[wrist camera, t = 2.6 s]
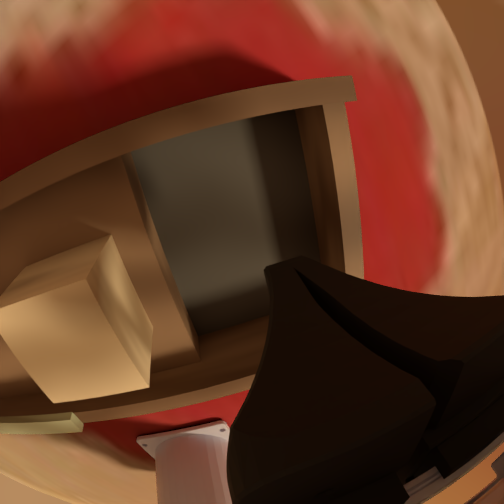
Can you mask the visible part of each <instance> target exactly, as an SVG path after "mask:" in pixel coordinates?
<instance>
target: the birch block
mask: <svg viewBox="0 0 504 504" xmlns="http://www.w3.org/2000/svg"><path fill="white" fill-rule="evenodd" d="M0 334H1V336H2V337H3V339H4V340H5V342H6V343H7V345H8V346H9V348H10V349H11V351H12V352H13V354H14V355H15V356H16V358H17V359H18V360H19V362H20V363H21V364H22V366H23V367H24V368H25V370H26V371H27V372H28V374H29V375H30V376H31V377H32V379H33V380H34V381H35V382H36V384H37V385H38V386H39V387H40V388H41V390H42V391H43V392H44V393H45V394H46V395H47V397H48V398H49V399H50V400H51V401H52V402H53V403H60V402H68V401H76V400H83V399H89V398H96V397H102V396H108V395H113V394H119V393H124V392H129V391H135V390H139V389H144V388H149V382H150V363H151V348H152V335H153V326H152V324H151V322H150V320H149V318H148V316H147V314H146V312H145V310H144V308H143V305H142V303H141V301H140V299H139V297H138V295H137V293H136V291H135V288H134V286H133V284H132V282H131V280H130V277H129V275H128V273H127V271H126V268H125V266H124V264H123V261H122V259H121V257H120V254H119V252H118V249H117V247H116V245H115V242H114V240H113V237H112V235H108V236H105V237H102V238H99V239H97V240H94V241H91V242H88V243H86V244H83V245H80V246H78V247H75V248H72V249H70V250H67V251H64V252H62V253H59V254H56V255H54V256H51V257H49V258H46V259H44V260H41V261H39V262H36V263H34V264H31V265H29V266H26V267H25V268H24V269H23V270H22V271H21V272H20V274H19V275H18V276H17V277H16V278H15V279H14V280H13V282H12V283H11V284H10V285H9V286H8V288H7V289H6V290H5V291H4V292H3V294H2V295H1V296H0Z"/></svg>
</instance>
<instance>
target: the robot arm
mask: <svg viewBox="0 0 504 504" xmlns="http://www.w3.org/2000/svg"><path fill="white" fill-rule="evenodd" d="M263 271H264V275H265V279H266V283H267V288H268V292H269V296H270V311H269V323H268V330H267V336H266V341H265V345H264V349H263V353H262V357H261V360H260V364H259V367H258V370H257V372H256V375H255V377H254V380H253V383H252V385H251V388H250V390H249V393H248V395H247V397H246V399H245V401H244V403H243V405H242V407H241V409H240V411H239V412H238V414H237V416H236V418H235V420H234V422H233V424H232V425H231V427H230V428H229V427H228V425H227V423H226V422H225V421H221V420H220V421H215V422H211V423H207V424H203V425H198V426H194V427H189V428H184V429H179V430H174V431H169V432H163V433H157V434H151V435H145V436H139V437H137V440H136V442H137V443H138V444H139V445H140V446H141V447H142V448H143V449H144V450H145V451H146V452H147V453H148V454H149V455H150V456H152V457H153V458H154V459H155V465H156V484H157V498H158V504H423V503H424V502H425V501H427V500H429V499H431V498H432V497H434V496H435V495H437V494H438V493H440V492H441V491H443V490H444V489H446V488H447V487H449V486H450V485H452V484H453V483H454V482H456V481H457V480H458V479H460V478H461V477H463V476H464V475H465V474H467V473H468V472H469V471H470V470H472V469H473V468H474V467H476V466H477V465H478V464H479V463H480V462H482V461H483V460H484V459H485V458H486V457H488V456H489V455H490V454H491V453H492V452H493V451H495V450H496V449H497V448H498V447H499V446H500V445H501V444H502V443H503V442H504V295H503V296H485V297H455V296H440V295H431V294H424V293H417V292H411V291H405V290H400V289H396V288H392V287H388V286H383V285H380V284H376V283H373V282H370V281H367V280H364V279H361V278H358V277H355V276H352V275H349V274H347V273H344V272H341V271H339V270H336V269H334V268H332V267H329V266H327V265H324V264H322V263H320V262H317V261H315V260H313V259H310V258H308V257H305V256H302V255H301V256H298V257H294V258H291V259H288V260H285V261H282V262H278V263H275V264H272V265H269V266H266V267H265V269H264V270H263ZM491 467H492V468H493V470H494V471H495V473H496V474H497V477H496V478H495V479H494V480H493V481H492V482H491V483H489V484H488V485H487V486H486V487H485V488H483V489H482V490H481V491H480V492H479V493H477V494H476V495H475V496H473V497H472V498H471V499H470V500H468V501H467V502H466V503H464V504H504V452H503V453H502V454H501V455H500V457H498V458H497V459H496V460H495V461H494V462H493V463H492V465H491Z"/></svg>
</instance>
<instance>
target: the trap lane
mask: <svg viewBox="0 0 504 504" xmlns="http://www.w3.org/2000/svg"><path fill="white" fill-rule="evenodd" d="M348 101H357V98H356V93H355V88H354V83H353V78H352V76H337V77H326V78H316V79H307V80H299V81H291V82H284V83H278V84H272V85H266V86H260V87H254V88H249V89H244V90H239V91H234V92H230V93H225V94H221V95H216V96H212V97H208V98H204V99H200V100H196V101H193V102H189V103H185V104H182V105H178V106H175V107H171V108H168V109H165V110H161V111H158V112H155V113H152V114H149V115H146V116H143V117H140V118H137V119H134V120H131V121H129V122H126V123H123V124H120V125H118V126H115V127H112V128H110V129H107V130H105V131H102V132H100V133H97V134H95V135H92V136H90V137H88V138H85V139H83V140H81V141H78V142H76V143H74V144H72V145H70V146H67V147H65V148H63V149H61V150H59V151H57V152H55V153H53V154H51V155H49V156H47V157H45V158H43V159H41V160H39V161H37V162H35V163H33V164H31V165H29V166H27V167H25V168H24V169H22V170H20V171H18V172H16V173H15V174H13V175H11V176H9V177H8V178H6V179H4V180H3V181H1V182H0V296H1V295H2V294H3V292H4V291H5V290H6V289H7V288H8V286H9V285H10V284H11V283H12V282H13V280H14V279H15V278H16V277H17V276H18V275H19V274H20V272H21V271H22V270H23V269H24V268H25V267H26V266H29V265H31V264H34V263H36V262H39V261H41V260H44V259H46V258H49V257H51V256H54V255H56V254H59V253H62V252H64V251H67V250H70V249H72V248H75V247H78V246H80V245H83V244H86V243H88V242H91V241H94V240H97V239H99V238H102V237H105V236H108V235H112V237H113V240H114V242H115V245H116V247H117V249H118V252H119V254H120V257H121V259H122V261H123V264H124V266H125V268H126V271H127V273H128V275H129V277H130V280H131V282H132V284H133V286H134V288H135V291H136V293H137V295H138V297H139V299H140V301H141V303H142V305H143V308H144V310H145V312H146V314H147V316H148V318H149V320H150V322H151V324H152V326H153V335H152V348H151V363H150V382H149V388H144V389H139V390H135V391H129V392H124V393H119V394H113V395H108V396H102V397H96V398H89V399H83V400H76V401H68V402H60V403H53V402H52V401H51V400H50V399H49V398H48V397H47V395H46V394H45V393H44V392H43V391H42V390H41V388H40V387H39V386H38V385H37V384H36V382H35V381H34V380H33V379H32V377H31V376H30V375H29V374H28V372H27V371H26V370H25V368H24V367H23V366H22V364H21V363H20V362H19V360H18V359H17V358H16V356H15V355H14V354H13V352H12V351H11V349H10V348H9V346H8V345H7V343H6V342H5V340H4V339H3V337H2V336H1V334H0V433H1V434H57V433H74V432H82V431H83V425H84V424H83V423H88V422H97V421H105V420H112V419H119V418H126V417H132V416H138V415H144V414H149V413H155V412H160V411H165V410H170V409H174V408H179V407H184V406H188V405H192V404H197V403H201V402H205V401H209V400H213V399H216V398H220V397H224V396H228V395H231V394H235V393H238V392H242V391H245V390H249V389H250V388H251V385H252V383H253V380H254V377H255V375H256V372H257V370H258V367H259V364H260V360H261V357H262V353H263V349H264V345H265V341H266V336H267V330H268V323H269V311H270V296H269V292H268V288H267V283H266V279H265V275H264V271H263V270H264V269H265V267H266V266H269V265H272V264H275V263H278V262H282V261H285V260H288V259H291V258H294V257H298V256H301V255H302V256H305V257H308V258H310V259H313V260H315V261H317V262H320V263H322V264H324V265H327V266H329V267H332V268H334V269H336V270H339V271H341V272H344V273H347V274H349V275H352V276H355V277H358V278H361V279H364V268H363V248H362V233H361V220H360V209H359V199H358V190H357V181H356V173H355V165H354V158H353V151H352V144H351V137H350V131H349V125H348V120H347V114H346V109H345V103H344V102H348Z"/></svg>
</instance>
